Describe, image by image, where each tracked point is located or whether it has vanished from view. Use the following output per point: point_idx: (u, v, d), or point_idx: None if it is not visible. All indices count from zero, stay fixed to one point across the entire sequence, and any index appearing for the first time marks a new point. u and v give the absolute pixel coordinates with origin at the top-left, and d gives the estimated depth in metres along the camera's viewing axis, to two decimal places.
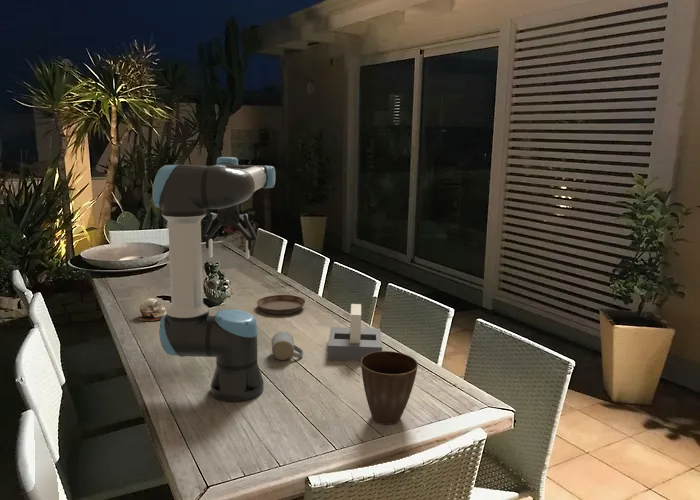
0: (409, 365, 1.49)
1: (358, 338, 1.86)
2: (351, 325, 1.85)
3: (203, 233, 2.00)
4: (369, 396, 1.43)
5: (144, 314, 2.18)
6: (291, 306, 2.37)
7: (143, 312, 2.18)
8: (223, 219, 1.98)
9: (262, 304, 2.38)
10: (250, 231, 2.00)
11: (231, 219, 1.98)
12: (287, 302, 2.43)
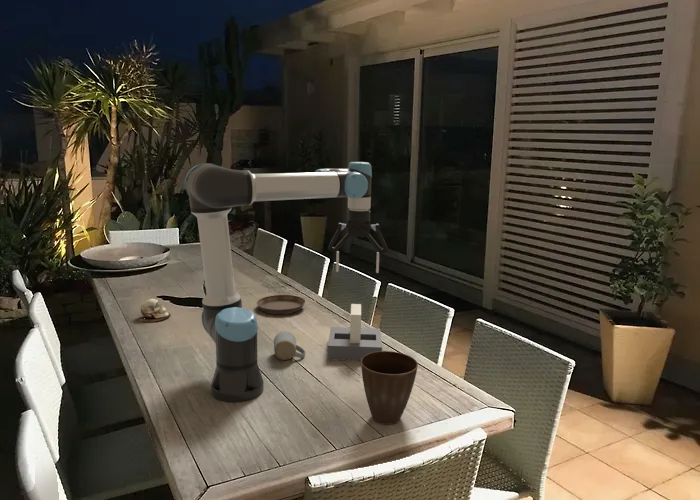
0: (409, 365, 1.49)
1: (358, 338, 1.86)
2: (351, 325, 1.85)
3: (331, 245, 1.84)
4: (369, 396, 1.43)
5: (145, 315, 2.17)
6: (291, 306, 2.37)
7: (144, 313, 2.17)
8: (354, 230, 1.82)
9: (262, 304, 2.38)
10: (382, 243, 1.84)
11: (363, 230, 1.82)
12: (287, 302, 2.43)
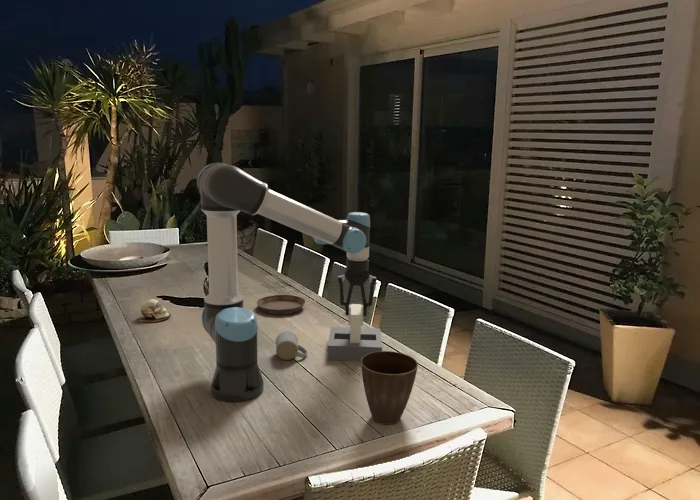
0: (409, 365, 1.49)
1: (358, 338, 1.86)
2: (351, 325, 1.85)
3: (341, 299, 1.88)
4: (369, 396, 1.43)
5: (145, 315, 2.17)
6: (291, 306, 2.37)
7: (144, 313, 2.17)
8: (353, 279, 1.85)
9: (262, 304, 2.38)
10: (370, 296, 1.87)
11: (361, 279, 1.85)
12: (287, 302, 2.43)
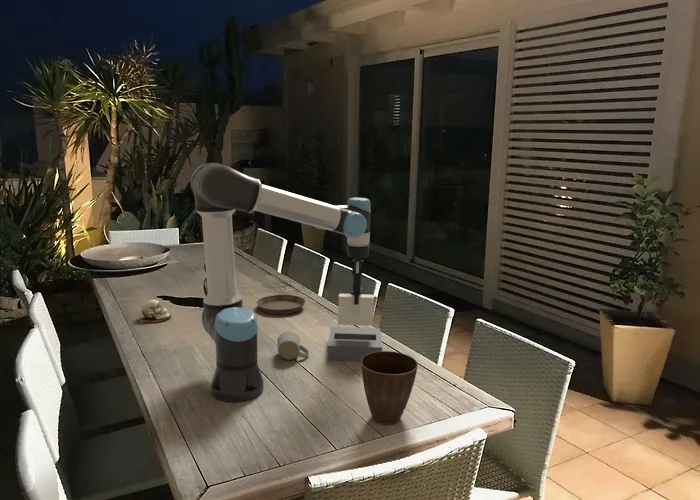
0: (409, 365, 1.49)
1: None
2: (373, 307, 1.88)
3: (360, 289, 1.83)
4: (369, 396, 1.43)
5: (146, 315, 2.17)
6: (291, 306, 2.37)
7: (145, 313, 2.16)
8: None
9: (262, 304, 2.38)
10: None
11: None
12: (287, 302, 2.43)
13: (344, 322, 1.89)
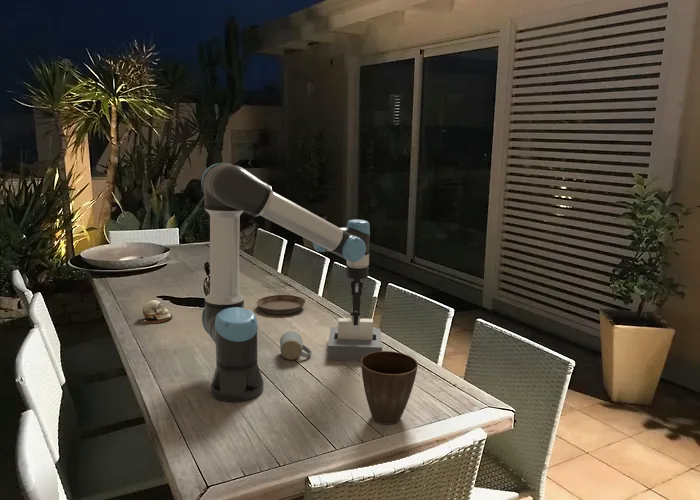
0: (409, 365, 1.49)
1: None
2: (372, 332, 1.90)
3: (359, 309, 1.82)
4: (369, 396, 1.43)
5: (147, 316, 2.16)
6: (291, 306, 2.38)
7: (146, 314, 2.16)
8: (362, 285, 1.87)
9: (262, 304, 2.38)
10: None
11: (362, 283, 1.89)
12: (287, 302, 2.43)
13: None
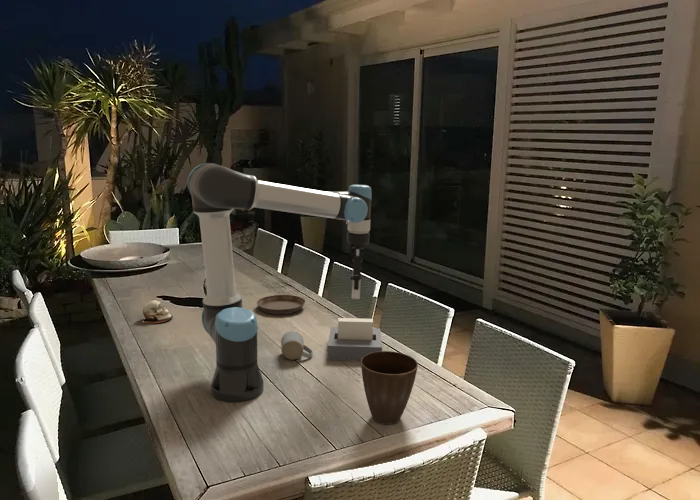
0: (409, 365, 1.49)
1: None
2: (372, 332, 1.90)
3: (360, 273, 1.78)
4: (369, 396, 1.43)
5: (147, 317, 2.15)
6: (291, 306, 2.38)
7: (146, 315, 2.15)
8: (363, 252, 1.84)
9: (262, 304, 2.38)
10: None
11: (363, 250, 1.87)
12: (287, 302, 2.43)
13: None
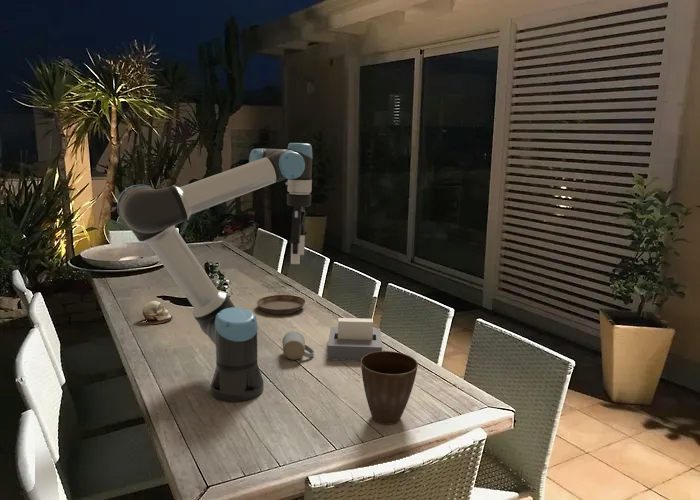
0: (409, 365, 1.49)
1: None
2: (372, 332, 1.90)
3: (299, 236, 1.67)
4: (369, 396, 1.43)
5: (147, 317, 2.15)
6: (291, 306, 2.38)
7: (146, 315, 2.14)
8: (304, 215, 1.73)
9: (262, 304, 2.38)
10: (304, 223, 1.83)
11: (305, 213, 1.76)
12: (287, 302, 2.43)
13: None
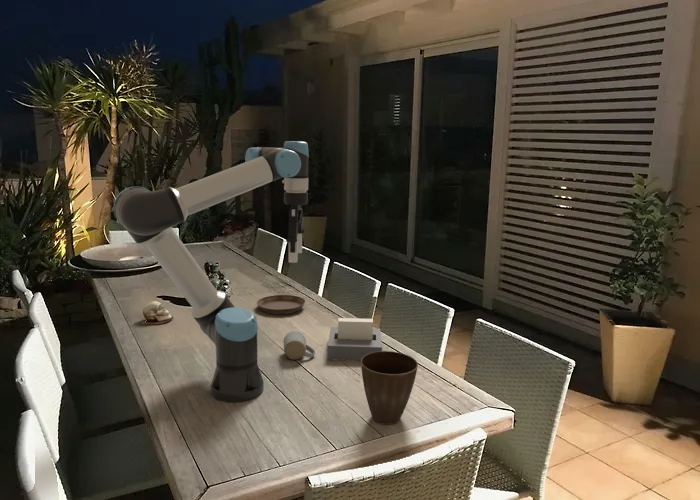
0: (409, 365, 1.49)
1: None
2: (372, 332, 1.90)
3: (296, 234, 1.66)
4: (369, 396, 1.43)
5: (148, 317, 2.14)
6: (291, 306, 2.38)
7: (147, 315, 2.14)
8: (301, 213, 1.73)
9: (262, 304, 2.38)
10: None
11: (302, 211, 1.75)
12: (287, 302, 2.43)
13: None
